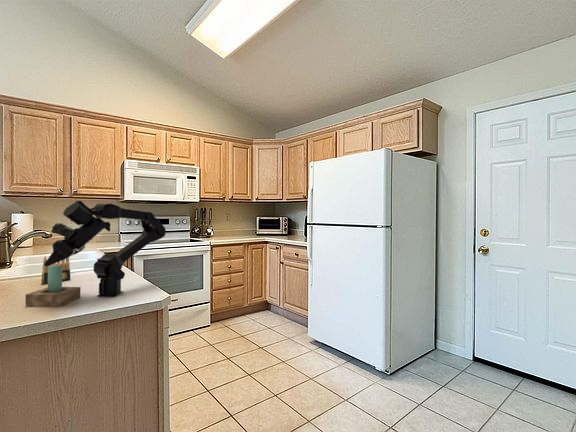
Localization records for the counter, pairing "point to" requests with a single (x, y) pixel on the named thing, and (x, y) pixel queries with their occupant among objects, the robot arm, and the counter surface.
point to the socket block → (52, 297)
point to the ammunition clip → (64, 271)
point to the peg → (54, 279)
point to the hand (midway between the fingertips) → (49, 263)
